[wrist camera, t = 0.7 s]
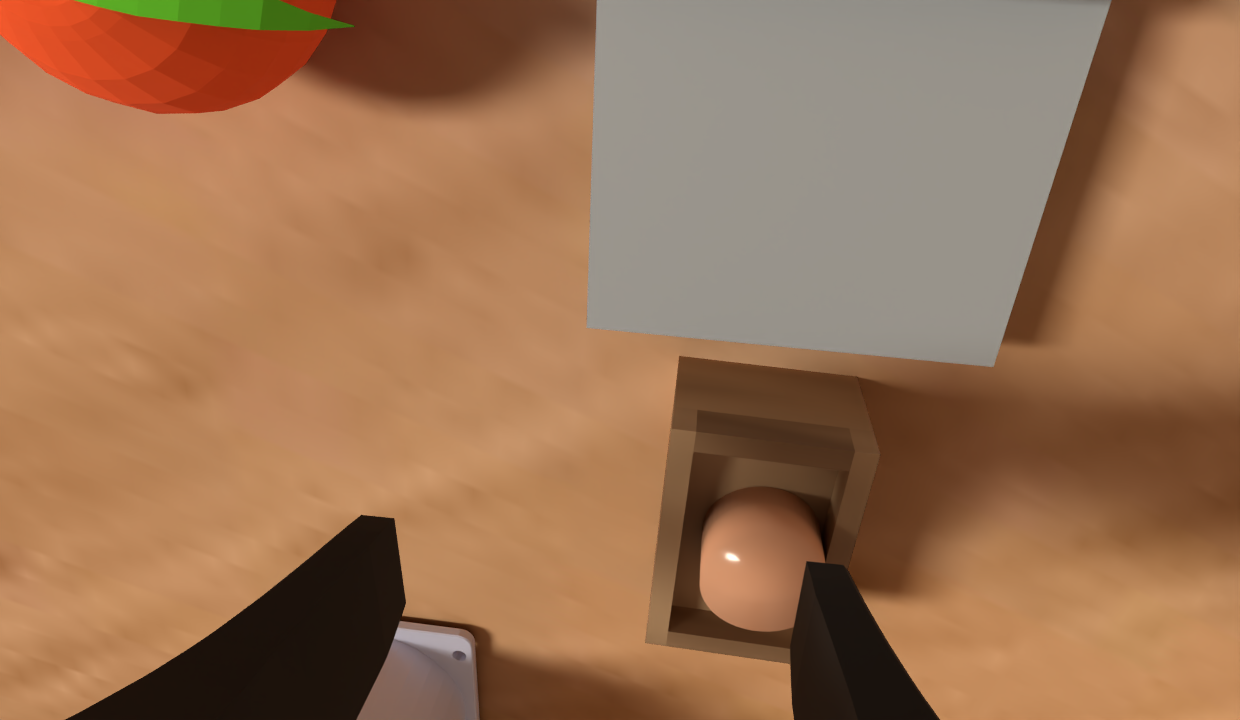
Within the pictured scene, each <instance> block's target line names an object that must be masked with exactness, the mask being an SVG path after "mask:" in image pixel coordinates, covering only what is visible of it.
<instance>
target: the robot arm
mask: <svg viewBox="0 0 1240 720" xmlns="http://www.w3.org/2000/svg"><path fill="white" fill-rule="evenodd" d="M405 604H406V600H405V593H404V585H403V578H402V571H401V564H400V556H399V549H398V542H397V535H396V527H395V520H394V518H385V517H375V516H366V515H361V516H360V517H358V518H357V519H356V520H355V521H353V522H352V523H351V524H350V525H348V526H347V527H346V528H345V529H343V530H342V531H341V532H340V533H339V534H337V535H336V536H335V537H334V538H333V539H331V540H330V541H329V542H328V543H327V544H325V545H324V546H323V547H322V548H321V549H319V550H318V551H317V552H316V553H315V554H313V555H312V556H311V557H310V558H309V559H307V560H306V561H305V562H304V563H303V564H301V565H300V566H299V567H298V568H297V569H295V570H294V571H293V572H292V573H290V574H289V575H288V576H287V577H285V578H284V579H283V580H282V581H280V582H279V583H278V584H277V585H275V586H274V587H273V588H272V589H270V590H269V591H268V592H267V593H265V594H264V595H263V596H262V597H260V598H259V599H258V600H256V601H255V602H254V603H252V604H251V605H250V606H248V607H247V608H246V609H244V610H243V611H242V612H240V613H239V614H237V615H236V616H235V617H233V618H232V619H231V620H229V621H228V622H227V623H225V624H224V625H223V626H221V627H220V628H219V629H217V630H216V631H214V632H213V633H211V634H210V635H209V636H207V637H206V638H204V639H203V640H201V641H200V642H198V643H197V644H195V645H194V646H192V647H191V648H189V649H188V650H186V651H185V652H183V653H181V654H180V655H178V656H177V657H175V658H173V659H172V660H170V661H169V662H167V663H166V664H164V665H162V666H161V667H159V668H158V669H156V670H154V671H153V672H151V673H149V674H148V675H146V676H144V677H143V678H141V679H139V680H137V681H135V682H134V683H132V684H130V685H128V686H126V687H125V688H123V689H121V690H119V691H117V692H116V693H114V694H112V695H110V696H108V697H107V698H105V699H103V700H101V701H99V702H98V703H96V704H94V705H92V706H90V707H89V708H87V709H85V710H83V711H81V712H79V713H77V714H75V715H74V716H72V717H70V718H68V719H66V720H480V718H479V701H478V684H477V668H476V651H475V639H474V636H473V635H472V634H471V633H470V632H468V631H467V630H464V629H458V628H451V627H443V626H435V625H427V624H420V623H412V622H404V621H400V619H401V616H402V613H403V610H404V607H405ZM790 664H791V689H792V707H793V714H794V720H940V719H939V718H938V716H937V715H936V714H935V712H934V711H933V709H932V708H931V707H930V705H929V704H928V702H927V701H926V700H925V698H924V697H923V695H922V694H921V692H920V691H919V689H918V688H917V687H916V685H915V684H914V682H913V681H912V679H911V678H910V676H909V675H908V673H907V671H906V670H905V668H904V667H903V665H902V664H901V662H900V660H899V659H898V657H897V656H896V654H895V653H894V651H893V649H892V648H891V646H890V645H889V643H888V641H887V640H886V638H885V636H884V635H883V633H882V631H881V630H880V628H879V626H878V625H877V623H876V621H875V619H874V618H873V616H872V614H871V612H870V611H869V609H868V607H867V605H866V603H865V602H864V600H863V598H862V596H861V594H860V592H859V590H858V589H857V587H856V585H855V583H854V581H853V579H852V577H851V575H850V573H849V571H848V570H847V569H846V567H845V566H844V565H839V564H830V563H820V562H810V561H806V566H805V571H804V576H803V582H802V587H801V592H800V597H799V602H798V607H797V612H796V618H795V623H794V628H793V633H792V638H791V643H790Z"/></svg>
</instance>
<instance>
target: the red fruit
mask: <svg viewBox="0 0 1240 720" xmlns="http://www.w3.org/2000/svg"><path fill="white" fill-rule="evenodd" d="M335 3H336V0H0V35H1V36H2V37H4V38H5V39H6V40H7V41H8V42H9V43H10V44H12V45H13V46H14V47H15V48H17V49H18V50H19V51H20V52H22V53H23V54H24V55H25V56H27V57H28V58H29V59H30V60H32V61H33V62H34V63H35V64H37V65H38V66H39V67H40V68H42V69H43V70H44V71H45V72H46V73H48V74H50V75H52V76H54V77H56V78H58V79H60V80H62V81H64V82H65V83H67V84H69V85H71V86H73V87H75V88H77V89H79V90H81V91H83V92H84V93H86V94H90V95H93V96H96V97H99V98H102V99H105V100H108V101H112V102H115V103H118V104H122V105H126V106H130V107H134V108H137V109H141V110H145V111H149V112H153V113H156V114H170V113H204V112H214V111H224V110H227V109H230V108H233V107H236V106H239V105H242V104H245V103H248V102H251V101H254V100H257V99H259V98H261V97H262V96H264V95H265V94H267V93H268V92H270V91H271V90H273V89H274V88H275V87H277V86H278V85H280V84H281V83H282V82H283V81H285V80H286V79H287V78H289V77H290V76H291V75H292V74H294V73H295V72H296V71H298V70H299V69H300V68H301V67H303V66H304V65H305V64H306V63H307V61H308V60H309V58H310V57H311V55H312V54H313V52H314V51H315V49H316V48H317V46H318V45H319V43H320V42H321V40H322V39H323V37H324V36H325V34H326V33H327V29H334V28H345V27H355V26H354V25H350V24H347V23H344V22H340V21H337V20H333V19H331V16H332V13H333V10H334V6H335Z"/></svg>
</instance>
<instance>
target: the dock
mask: <svg viewBox="0 0 1240 720" xmlns="http://www.w3.org/2000/svg"><path fill="white" fill-rule="evenodd" d="M1110 3H1111V0H597V12H596V45H595V77H594V109H593V142H592V174H591V206H590V239H589V271H588V303H587V328H594V329H604V330H614V331H625V332H635V333H645V334H656V335H666V336H677V337H687V338H697V339H708V340H718V341H728V342H739V343H749V344H760V345H770V346H780V347H791V348H801V349H812V350H822V351H832V352H843V353H853V354H863V355H874V356H884V357H895V358H905V359H915V360H926V361H936V362H946V363H957V364H967V365H978V366H988V367H994V364H995V360H996V357H997V354H998V351H999V348H1000V345H1001V342H1002V339H1003V336H1004V333H1005V329H1006V326H1007V323H1008V320H1009V317H1010V314H1011V311H1012V308H1013V305H1014V301H1015V298H1016V295H1017V292H1018V289H1019V286H1020V283H1021V280H1022V277H1023V274H1024V270H1025V267H1026V264H1027V261H1028V258H1029V255H1030V252H1031V249H1032V246H1033V242H1034V239H1035V236H1036V233H1037V230H1038V227H1039V224H1040V221H1041V218H1042V215H1043V211H1044V208H1045V205H1046V202H1047V199H1048V196H1049V193H1050V190H1051V187H1052V183H1053V180H1054V177H1055V174H1056V171H1057V168H1058V165H1059V162H1060V159H1061V156H1062V152H1063V149H1064V146H1065V143H1066V140H1067V137H1068V134H1069V131H1070V128H1071V124H1072V121H1073V118H1074V115H1075V112H1076V109H1077V106H1078V103H1079V100H1080V96H1081V93H1082V90H1083V87H1084V84H1085V81H1086V78H1087V75H1088V72H1089V69H1090V65H1091V62H1092V59H1093V56H1094V53H1095V50H1096V47H1097V44H1098V41H1099V37H1100V34H1101V31H1102V28H1103V25H1104V22H1105V19H1106V16H1107V13H1108V10H1109V6H1110Z"/></svg>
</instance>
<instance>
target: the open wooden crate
mask: <svg viewBox="0 0 1240 720" xmlns="http://www.w3.org/2000/svg"><path fill="white" fill-rule="evenodd" d="M880 455H881V454H880V451H879V448H878V444H877V441H876V438H875V434H874V431H873V428H872V424H871V421H870V418H869V414H868V411H867V407H866V404H865V401H864V397H863V394H862V391H861V387H860V384H859V381H858V377H853V376H845V375H836V374H828V373H819V372H811V371H802V370H794V369H785V368H777V367H768V366H759V365H751V364H742V363H734V362H725V361H717V360H708V359H700V358H691V357H683V356H679V363H678V372H677V380H676V388H675V396H674V405H673V413H672V421H671V429H670V437H669V446H668V454H667V462H666V470H665V479H664V487H663V495H662V503H661V511H660V520H659V528H658V536H657V544H656V552H655V561H654V570H653V579H652V588H651V597H650V605H649V614H648V623H647V632H646V641H645V643H649V644H656V645H663V646H670V647H677V648H683V649H690V650H697V651H704V652H711V653H718V654H725V655H732V656H739V657H746V658H753V659H760V660H767V661H774V662H781V663H788V664H790V643H791V638H792V633H793V628H794V627H792V628H789V629H785V630H780V631H771V632H762V631H752V630H747V629H743V628H740V627H737V626H734V625H732V624H730V623H728V622H726V621H724V620H722V619H721V618H719V617H718V616H717V615H716V614H714V613H713V612H712V611H711V610H710V608H709V607H708V606H707V604H706V603H705V601H704V599H703V597H702V595H701V591H700V562H701V540H702V524H703V520H704V518H705V515H706V513H707V512H708V510H709V509H710V507H711V506H712V505H713V504H714V503H715V502H716V501H717V500H719V499H720V498H722V497H723V496H725V495H727V494H729V493H731V492H733V491H736V490H739V489H743V488H748V487H772V488H777V489H781V490H784V491H787V492H789V493H792V494H794V495H796V496H797V497H799V498H800V499H802V500H803V501H805V502H806V503H807V504H808V505H809V506H810V507H811V509H812V510H813V511H814V513H815V515H816V516H817V519H818V521H819V525H820V531H821V537H822V544H823V551H824V557H825V563H830V564H839V565H844V566H845V567H846V569H847V570H848V567H849V563H850V560H851V556H852V553H853V549H854V546H855V542H856V539H857V535H858V532H859V528H860V525H861V521H862V518H863V514H864V511H865V507H866V504H867V500H868V497H869V493H870V490H871V486H872V483H873V479H874V476H875V472H876V469H877V465H878V462H879V458H880Z"/></svg>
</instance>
